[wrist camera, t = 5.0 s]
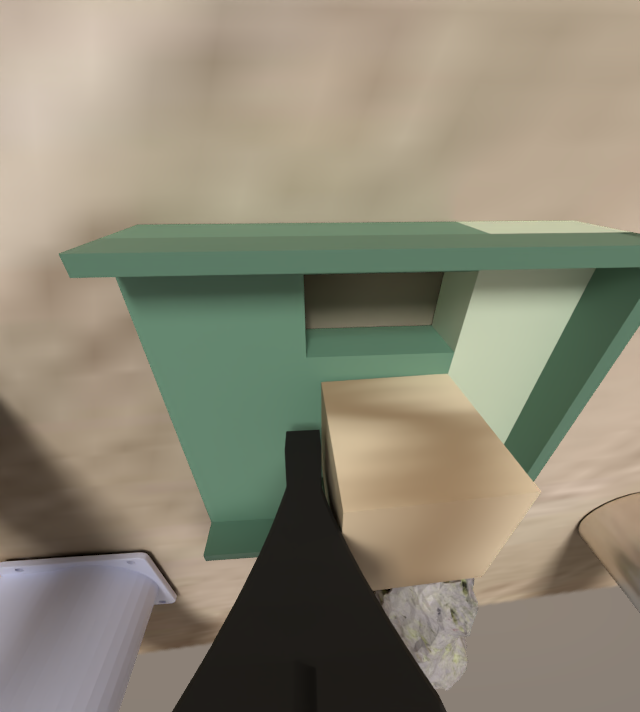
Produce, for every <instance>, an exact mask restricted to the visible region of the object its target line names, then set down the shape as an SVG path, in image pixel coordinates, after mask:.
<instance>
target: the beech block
mask: <svg viewBox="0 0 640 712" xmlns="http://www.w3.org/2000/svg"><path fill="white" fill-rule="evenodd" d="M321 426H322V472H323V480H324V488H325V496H326V499H327V502H328V504H329V506H330V509H331V511H332V513H333V515H334V518H335V520H336V522H337V524H338V526H339V529H340V531H341V533H342V535H343V537H344V539H345V541H346V543H347V545H348V547H349V549H350V551H351V553H352V555H353V556H354V558H355V560H356V562H357V564H358V566H359V568H360V570H361V571H362V573H363V575H364V577H365V578H366V580H367V582H368V584H369V585H370V587H371V589H372V591H376V590H384V589H391V588H399V587H407V586H415V585H422V584H430V583H438V582H445V581H453V580H461V579H469V578H476V577H482V576H483V574H484V573H485V572H486V570H487V569H488V567H489V566H490V564H491V563H492V562H493V560H494V559H495V557H496V556H497V554H498V553H499V552H500V550H501V549H502V547H503V546H504V544H505V543H506V542H507V540H508V539H509V537H510V536H511V534H512V533H513V532H514V530H515V529H516V527H517V526H518V524H519V523H520V522H521V520H522V519H523V517H524V516H525V514H526V513H527V512H528V510H529V509H530V507H531V506H532V504H533V503H534V502H535V500H536V499H537V497H538V496H539V494H540V493H541V491H540V490H539V488H538V487H537V486H536V485H535V483H534V482H533V481H532V479H531V478H530V477H529V476H528V474H527V473H526V472H525V471H524V469H523V468H522V467H521V466H520V464H519V463H518V462H517V461H516V459H515V458H514V457H513V455H512V454H511V453H510V452H509V450H508V449H507V448H506V447H505V445H504V444H503V443H502V442H501V440H500V439H499V438H498V437H497V435H496V434H495V433H494V432H493V430H492V429H491V428H490V426H489V425H488V424H487V423H486V421H485V420H484V419H483V418H482V416H481V415H480V414H479V413H478V411H477V410H476V409H475V408H474V406H473V405H472V404H471V403H470V401H469V400H468V399H467V397H466V396H465V395H464V394H463V392H462V391H461V390H460V389H459V387H458V386H457V385H456V384H455V382H454V381H453V380H452V379H451V377H450V376H449V375H448V374H433V375H418V376H404V377H389V378H374V379H360V380H345V381H330V382H321Z"/></svg>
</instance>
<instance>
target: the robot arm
mask: <svg viewBox="0 0 640 712" xmlns="http://www.w3.org/2000/svg"><path fill="white" fill-rule="evenodd" d="M285 469H286V489H285V492H284V495H283V498H282V500H281V503H280V505H279V508H278V511H277V513H276V516H275V519H274V521H273V524H272V526H271V528H270V531H269V533H268V535H267V538H266V540H265V542H264V545H263V547H262V549H261V551H260V553H259V556H258V558H257V560H256V562H255V564H254V566H253V568H252V570H251V572H250V574H249V576H248V578H247V580H246V582H245V584H244V586H243V588H242V590H241V592H240V594H239V596H238V598H237V600H236V602H235V604H234V606H233V607H232V609H231V611H230V613H229V615H228V616H227V618H226V620H225V622H224V624H223V626H222V627H221V629H220V631H219V633H218V635H217V636H216V638H215V640H214V642H213V644H212V646H211V648H210V649H209V651H208V653H207V654H206V656H205V658H204V659H203V661H202V663H201V665H200V666H199V668H198V670H197V671H196V673H195V675H194V676H193V678H192V680H191V681H190V683H189V684H188V686H187V688H186V689H185V691H184V693H183V695H182V696H181V698H180V699H179V701H178V703H177V705H176V706H175V708H174V709H173V711H172V712H446V710H445V708H444V705H443V703H442V701H441V699H440V697H439V695H438V693H437V692H436V690H435V689H434V687H433V686H432V684H431V683H430V681H429V680H428V678H427V677H426V675H425V674H424V672H423V671H422V669H421V668H420V666H419V665H418V663H417V662H416V660H415V659H414V657H413V656H412V654H411V653H410V651H409V649H408V648H407V646H406V645H405V643H404V642H403V640H402V639H401V637H400V635H399V634H398V632H397V631H396V629H395V627H394V626H393V624H392V623H391V621H390V619H389V618H388V616H387V615H386V613H385V611H384V609H383V608H382V606H381V604H380V603H379V601H378V599H377V597H376V596H375V594H374V592H373V591H372V589H371V587H370V585H369V584H368V582H367V580H366V578H365V577H364V575H363V573H362V571H361V570H360V568H359V566H358V564H357V562H356V560H355V558H354V556H353V555H352V553H351V551H350V549H349V547H348V545H347V543H346V541H345V539H344V537H343V535H342V533H341V531H340V529H339V526H338V524H337V522H336V520H335V518H334V515H333V513H332V511H331V509H330V506H329V504H328V502H327V499H326V497H325V494H324V492H323V489H322V454H321V439H320V430H302V431H286V439H285ZM0 575H1V577H0V712H119V709H120V706H121V703H122V700H123V697H124V694H125V691H126V688H127V685H128V682H129V679H130V676H131V673H132V670H133V667H134V664H135V661H136V658H137V655H138V652H139V649H140V646H141V642H142V639H143V636H144V633H145V630H146V627H147V624H148V621H149V618H150V615H151V612H152V609H153V606H154V605H156V604H169V603H174V602H175V601H176V598H177V595H176V594H175V592H174V591H173V589H172V588H171V586H170V585H169V584H168V582H167V581H166V579H165V578H164V577H163V575H162V574H161V572H160V571H159V569H158V568H157V567H156V565H155V564H154V562H153V561H152V559H151V558H150V557H149V555H148V554H146V553H143V552H136V553H121V554H106V555H92V556H77V557H62V558H48V559H33V560H18V561H4V562H0Z"/></svg>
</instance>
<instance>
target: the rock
mask: <svg viewBox="0 0 640 712" xmlns="http://www.w3.org/2000/svg"><path fill="white" fill-rule="evenodd" d="M473 585H474V578H469V579H461V580H453V581H445V582H438V583H430V584H422V585H415V586H407V587H399V588H391V590H390V591H386V590H376V594H375V596H376V597H377V599H378V601H379V603H380V604H381V606H382V608H383V609H384V611H385V613H386V615H387V616H388V618H389V619H390V621H391V623H392V624H393V626H394V627H395V629H396V631H397V632H398V634H399V635H400V637H401V639H402V640H403V642H404V643H405V645H406V646H407V648H408V649H409V651H410V653H411V654H412V656H413V657H414V659H415V660H416V662H417V663H418V665H419V666H420V668H421V669H422V671H423V672H424V674H425V675H426V677H427V678H428V680H429V681H430V683H431V684H432V686H433V687H434V689H437V688H443V689H444V690H446V691H447V690H448V689H450V688H451V687H452V685H453V684H454V683H455V682H457V681H458V680H459V679H460V677H461V676H462V674H463V673H464V672H465V670H466V669H467V666H466V664H467V663H468V659H467V654H466V648H467V645H466V639H465V637H467V636H470V632H471V627H472V624H473V622H474V619H475V616H476V614H477V611H478V601H477V599H476V596H475V594H474V592H473Z"/></svg>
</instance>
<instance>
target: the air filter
mask: <svg viewBox="0 0 640 712" xmlns="http://www.w3.org/2000/svg"><path fill="white" fill-rule="evenodd" d="M578 532H579V534H580V536H581V537H582V538H583V540H584V541H585V542H586V544H587V545H588V546H589V547H590V549H591V550H592V551H593V553H594V554H595V555H596V557H597V558H598V559H599V561H600V562H601V563H602V564H603V566H604V567H605V568H606V570H607V571H608V572H609V574H610V575H611V576H612V578H613V579H614V580H615V581H616V583H617V584H618V585H619V587H620V588H621V589H622V591H623V592H624V593H625V594H626V595H627V597H628V598H629V600H630V601H631V602H632V604H633V605H634V606H635V608H636V609H637V610H638V612H639V613H640V493H636V494H631V495H628V496H625V497H622V498H618V499H616V500H614V501H611V502H609V503H606V504H604V505H603V506H601V507H599V508H597V509H595V510H594V511H592V512H591V513H590V514H588V515H587V516H586V517H585V518H584V519H583V520H582V521H581V523H580V525H579V527H578Z"/></svg>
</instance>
